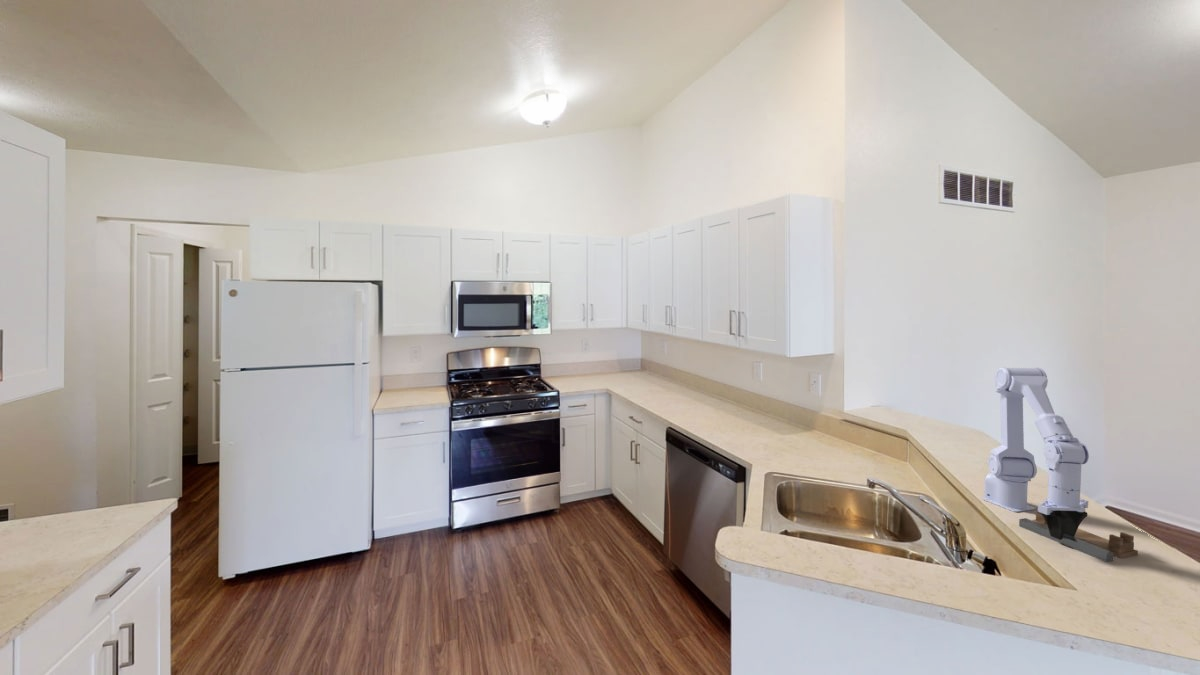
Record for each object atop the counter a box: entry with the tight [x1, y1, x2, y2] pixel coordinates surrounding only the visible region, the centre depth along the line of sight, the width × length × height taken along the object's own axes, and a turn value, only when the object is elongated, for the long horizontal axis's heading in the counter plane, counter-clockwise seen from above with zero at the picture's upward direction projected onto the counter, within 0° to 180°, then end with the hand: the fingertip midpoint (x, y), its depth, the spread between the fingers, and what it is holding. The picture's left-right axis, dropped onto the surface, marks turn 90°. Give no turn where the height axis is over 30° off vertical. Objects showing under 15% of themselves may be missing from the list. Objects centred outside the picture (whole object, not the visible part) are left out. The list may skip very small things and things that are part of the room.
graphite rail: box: [1018, 517, 1115, 563], centre depth 112 cm, size 18×2×2 cm, turn 13°
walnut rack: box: [1031, 507, 1139, 559], centre depth 114 cm, size 18×6×5 cm, turn 13°
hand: (1062, 536), depth 113 cm, fingers open, 4 cm apart
